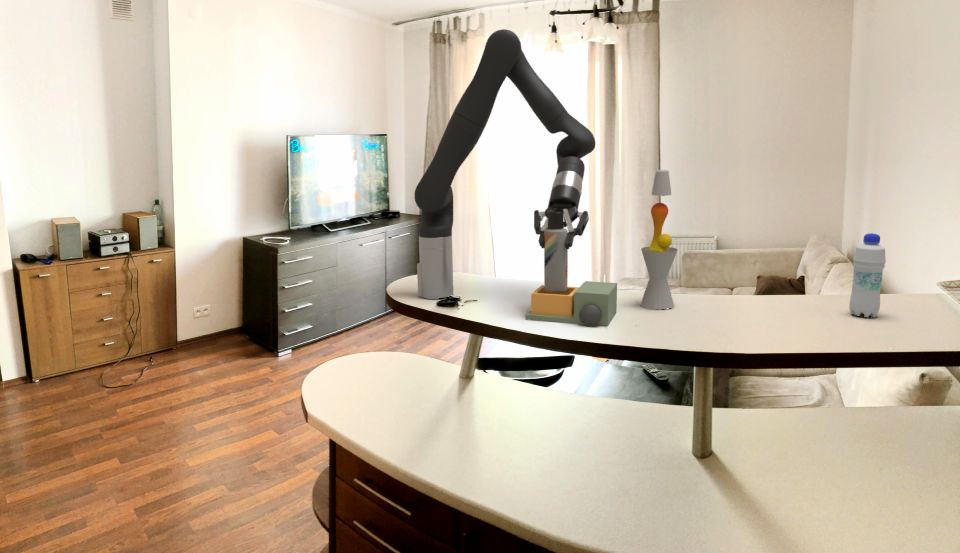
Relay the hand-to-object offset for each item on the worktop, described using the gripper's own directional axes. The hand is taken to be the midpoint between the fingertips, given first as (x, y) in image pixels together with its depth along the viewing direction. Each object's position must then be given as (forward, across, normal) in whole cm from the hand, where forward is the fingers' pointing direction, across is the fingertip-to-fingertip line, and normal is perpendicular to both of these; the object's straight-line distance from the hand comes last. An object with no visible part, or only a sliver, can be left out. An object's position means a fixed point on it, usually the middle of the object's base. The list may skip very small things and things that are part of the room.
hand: (554, 246), depth 158 cm
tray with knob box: (+11, +4, +14) cm, 18 cm away
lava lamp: (0, +23, +26) cm, 34 cm away
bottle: (-3, +71, +29) cm, 77 cm away
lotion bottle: (+7, 0, +9) cm, 12 cm away
